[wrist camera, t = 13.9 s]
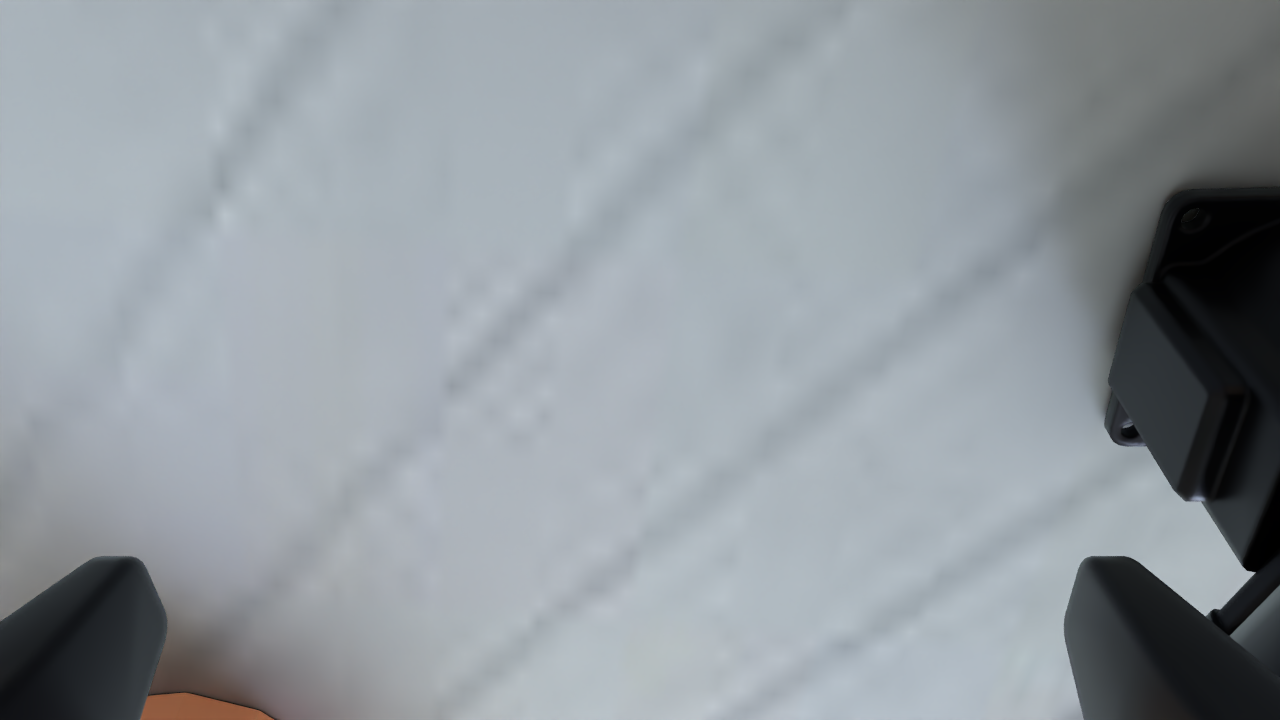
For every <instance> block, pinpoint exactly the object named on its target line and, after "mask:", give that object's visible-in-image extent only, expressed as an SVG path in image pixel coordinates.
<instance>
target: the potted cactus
mask: <svg viewBox="0 0 1280 720" xmlns="http://www.w3.org/2000/svg"><path fill="white" fill-rule="evenodd" d="M140 720H274V719H272V718H271V717H269V716H267V715H266V714H264V713H263V712H261V711H259V710H255V709H251V708H247V707H243V706H239V705H235V704H231V703H227V702H223V701H219V700H214V699H210V698H206V697H202V696H198V695H194V694H190V693H175V694H163V695H152V696H147V699H146V703H145V706H144V709H143V712H142V715H141V718H140Z"/></svg>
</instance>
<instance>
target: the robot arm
mask: <svg viewBox="0 0 1280 720" xmlns="http://www.w3.org/2000/svg"><path fill="white" fill-rule="evenodd" d="M1196 208H1199V212H1198V213H1197V215H1196V217H1194V218H1193V219H1192V220H1190V221H1187V222H1181V220H1182V218H1183V216H1184V214H1186V213H1187V212H1188V211H1190V210H1192V209H1196ZM1108 383H1109V385H1110V387H1111V389H1112V390H1113V391H1112V395H1111V398H1110V402H1109V406H1108V409H1107V413H1106V417H1105V423H1104V426H1105V428H1106V430H1107V432H1108V433H1109V435H1110V437H1111V439H1112V440H1113V442H1115V443H1116V444H1118V445H1121V446H1147V447H1148V449H1149V451H1150V452H1151V454H1152V455H1153V457H1154V459H1155V460H1156V462H1157V464H1158V465H1159V467H1160V469H1161V470H1162V472H1163V473H1164V475H1165V477H1166V478H1167V480H1168V482H1169V483H1170V485H1171V486H1172V488H1173V490H1174V491H1175V492H1176V493H1177V494H1178V495H1179V496H1180V497H1181V498H1182V499H1183V500H1184V501H1201V502H1202V504H1203V505H1204V507H1205V508H1206V510H1207V511H1208V513H1209V515H1210V516H1211V518H1212V519H1213V521H1214V522H1215V524H1216V525H1217V527H1218V529H1219V530H1220V532H1221V533H1222V535H1223V536H1224V538H1225V540H1226V541H1227V543H1228V544H1229V546H1230V547H1231V549H1232V551H1233V552H1234V554H1235V555H1236V557H1237V558H1238V560H1239V562H1240V563H1241V565H1242V566H1243V567H1244V568H1245V569H1246V570H1247V571H1252V572H1256V573H1255V574H1254V575H1253V576H1252V577H1251V578H1250V579H1249V580H1248V581H1247V582H1246V583H1245V584H1244V586H1243V587H1242V588H1241V589H1240V590H1239V591H1238V592H1237V593H1236V594H1235V595H1234V596H1233V597H1232V598H1231V599H1230V600H1229V601H1228V602H1227V603H1226V604H1225V605H1224V606H1223V607H1222V609H1221V610H1218V609H1213V610H1212V611H1211V612H1210V613H1209V614H1208V615H1207V616H1206V617H1205V616H1204V615H1203V614H1202V613H1200V612H1199V611H1198V610H1197V609H1195V608H1194V607H1193V606H1192V605H1190V604H1189V603H1188V602H1187V601H1186V600H1184V599H1183V598H1182V597H1181V596H1179V595H1178V594H1177V593H1176V592H1174V591H1173V590H1172V589H1171V588H1170V587H1168V586H1167V585H1166V584H1165V583H1163V582H1162V581H1161V580H1160V579H1159V578H1157V577H1156V576H1155V575H1154V574H1152V573H1151V572H1150V571H1149V570H1147V569H1146V568H1145V567H1144V566H1143V565H1141V564H1140V563H1139V562H1137V561H1136V560H1134V559H1132V558H1129V557H1125V556H1091V557H1088V558H1086V559H1084V560H1083V561H1082V563H1081V564H1080V567H1079V569H1078V572H1077V576H1076V579H1075V583H1074V586H1073V589H1072V593H1071V596H1070V600H1069V603H1068V607H1067V610H1066V614H1065V618H1064V636H1065V642H1066V647H1067V651H1068V655H1069V659H1070V663H1071V668H1072V672H1073V676H1074V680H1075V684H1076V688H1077V693H1078V697H1079V701H1080V705H1081V709H1082V714H1083V718H1084V720H1280V187H1279V188H1232V189H1192V190H1186V191H1182V192H1180V193H1178V194H1176V195H1175V196H1173V197H1172V198H1171V199H1170V200H1169V201H1168V202H1167V203H1166V204H1165V206H1164V208H1163V210H1162V213H1161V216H1160V220H1159V224H1158V227H1157V231H1156V234H1155V238H1154V242H1153V245H1152V249H1151V253H1150V256H1149V260H1148V264H1147V267H1146V271H1145V275H1144V278H1143V282H1142V283H1141V284H1139V285H1138V287H1137V288H1136V289H1135V290H1134V291H1133V292H1132V293H1131V296H1130V300H1129V304H1128V307H1127V311H1126V315H1125V319H1124V322H1123V326H1122V330H1121V333H1120V337H1119V341H1118V345H1117V348H1116V352H1115V356H1114V359H1113V363H1112V367H1111V371H1110V374H1109V378H1108ZM1129 422H1132V423H1133V425H1132V426H1130V427H1127V428H1122V427H1123V426H1124V425H1125V424H1127V423H1129ZM166 634H167V616H166V612H165V609H164V607H163V605H162V603H161V600H160V598H159V596H158V593H157V591H156V589H155V587H154V584H153V582H152V580H151V578H150V575H149V573H148V571H147V569H146V567H145V565H144V563H143V562H142V561H140V560H139V559H138V558H135V557H132V556H101V557H96V558H93V559H91V560H89V561H88V562H86V563H84V564H83V565H81V566H80V567H78V568H77V569H76V570H74V571H73V572H71V573H70V574H68V575H67V576H66V577H64V578H63V579H61V580H60V581H58V582H57V583H55V584H54V585H53V586H51V587H50V588H48V589H47V590H45V591H44V592H42V593H41V594H40V595H38V596H37V597H35V598H34V599H32V600H31V601H30V602H28V603H27V604H25V605H24V606H22V607H21V608H19V609H18V610H17V611H15V612H14V613H12V614H11V615H9V616H8V617H6V618H5V619H4V620H2V621H1V622H0V720H140V718H141V715H142V712H143V709H144V706H145V703H146V699H147V696H148V693H149V690H150V687H151V683H152V680H153V677H154V674H155V671H156V668H157V664H158V661H159V658H160V655H161V652H162V649H163V645H164V642H165V638H166Z"/></svg>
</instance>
